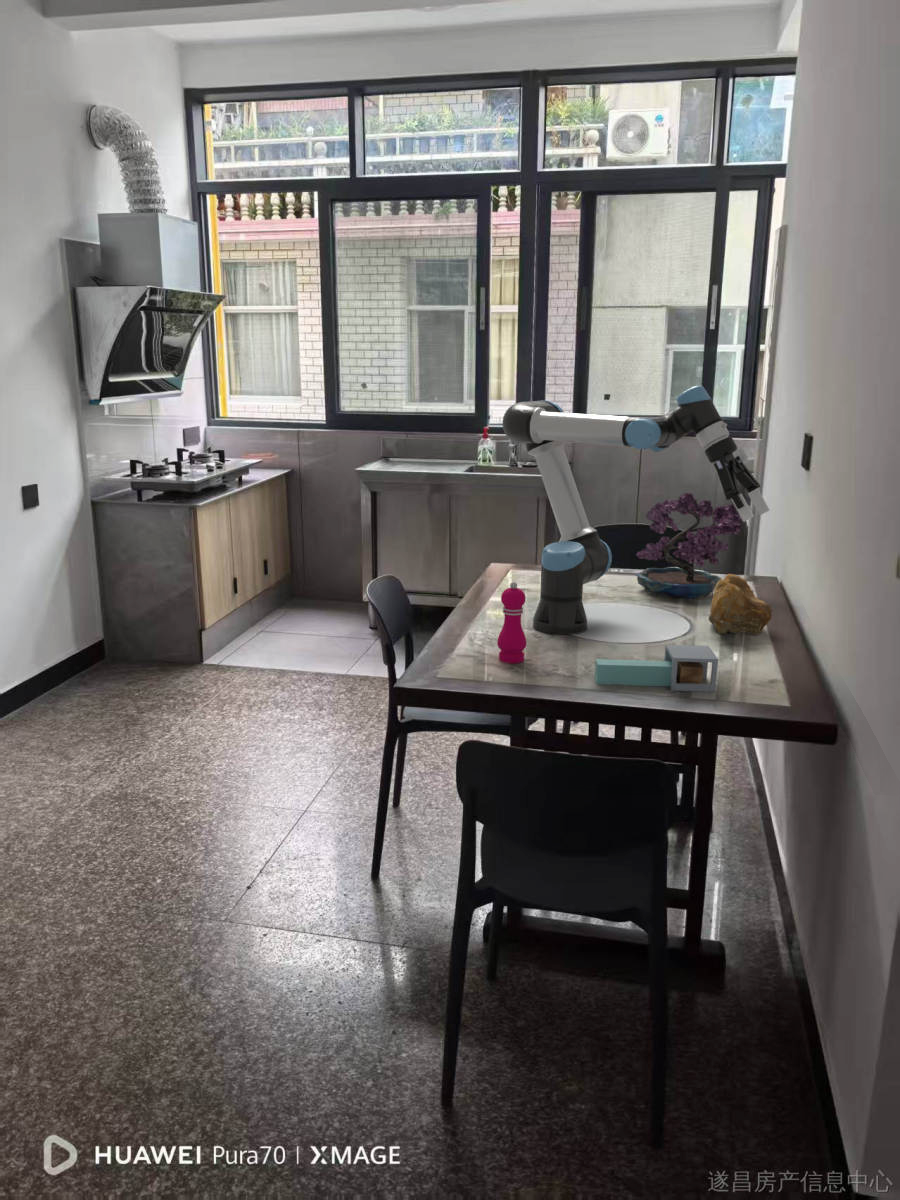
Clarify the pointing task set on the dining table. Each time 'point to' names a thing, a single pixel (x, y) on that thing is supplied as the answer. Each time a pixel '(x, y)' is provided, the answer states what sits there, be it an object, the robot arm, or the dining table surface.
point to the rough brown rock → (738, 607)
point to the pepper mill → (512, 626)
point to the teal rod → (633, 672)
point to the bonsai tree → (686, 548)
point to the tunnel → (691, 655)
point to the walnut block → (689, 672)
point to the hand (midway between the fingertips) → (757, 516)
